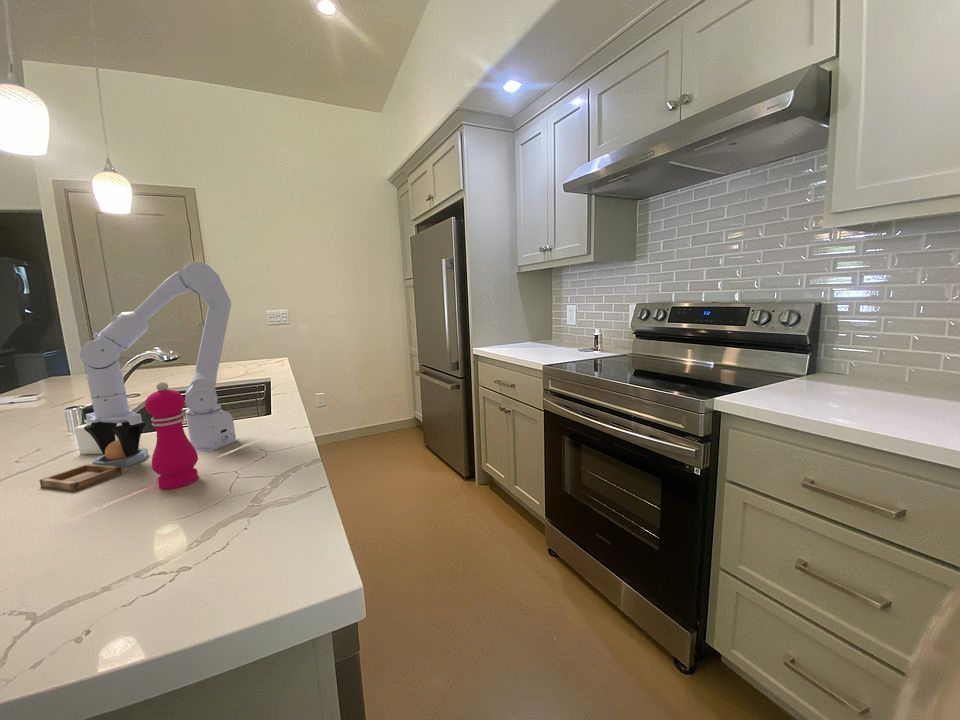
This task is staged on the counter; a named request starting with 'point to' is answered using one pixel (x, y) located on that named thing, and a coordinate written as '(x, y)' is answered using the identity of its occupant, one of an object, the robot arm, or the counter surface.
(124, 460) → the ramekin
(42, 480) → the tray
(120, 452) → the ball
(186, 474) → the pepper mill
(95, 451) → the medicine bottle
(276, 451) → the counter surface
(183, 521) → the counter surface
